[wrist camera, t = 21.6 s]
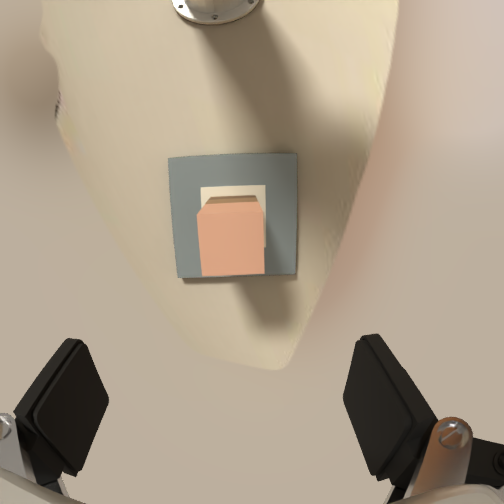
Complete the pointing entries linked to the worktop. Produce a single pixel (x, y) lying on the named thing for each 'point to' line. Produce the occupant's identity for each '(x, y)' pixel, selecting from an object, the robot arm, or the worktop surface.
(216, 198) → the walnut block
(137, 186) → the worktop surface
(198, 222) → the terracotta block
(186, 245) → the baseplate
